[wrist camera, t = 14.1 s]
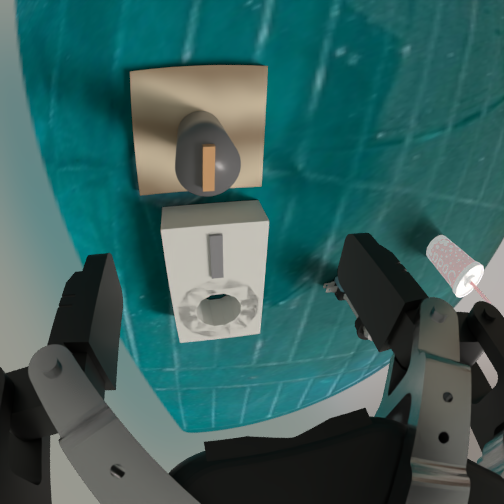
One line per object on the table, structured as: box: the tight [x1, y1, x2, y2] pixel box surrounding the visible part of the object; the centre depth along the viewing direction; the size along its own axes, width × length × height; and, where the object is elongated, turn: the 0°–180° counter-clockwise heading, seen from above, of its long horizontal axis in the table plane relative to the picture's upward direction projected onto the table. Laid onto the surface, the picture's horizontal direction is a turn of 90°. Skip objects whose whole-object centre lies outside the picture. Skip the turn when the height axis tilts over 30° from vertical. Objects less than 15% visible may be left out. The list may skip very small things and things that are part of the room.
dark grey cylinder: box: [175, 111, 241, 196], centre depth 22 cm, size 4×4×11 cm
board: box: [130, 65, 268, 195], centre depth 27 cm, size 12×12×1 cm
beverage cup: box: [426, 235, 491, 304], centre depth 38 cm, size 6×6×14 cm
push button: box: [323, 277, 373, 341], centre depth 39 cm, size 7×5×10 cm
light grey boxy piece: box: [161, 200, 269, 343], centre depth 34 cm, size 16×10×5 cm, turn 178°
